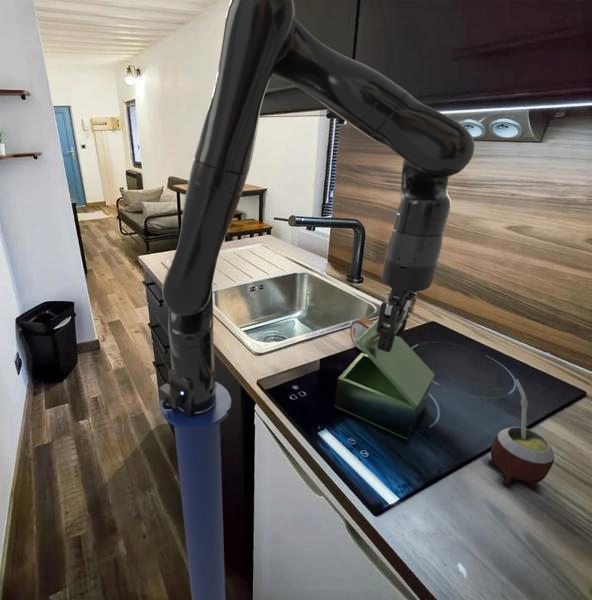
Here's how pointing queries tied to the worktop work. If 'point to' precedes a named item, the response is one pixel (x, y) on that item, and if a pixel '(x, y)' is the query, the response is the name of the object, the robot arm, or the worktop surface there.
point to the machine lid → (398, 364)
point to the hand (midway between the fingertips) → (390, 341)
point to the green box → (376, 399)
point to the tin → (359, 330)
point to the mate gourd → (521, 452)
